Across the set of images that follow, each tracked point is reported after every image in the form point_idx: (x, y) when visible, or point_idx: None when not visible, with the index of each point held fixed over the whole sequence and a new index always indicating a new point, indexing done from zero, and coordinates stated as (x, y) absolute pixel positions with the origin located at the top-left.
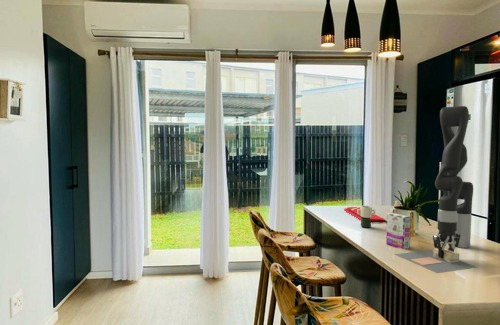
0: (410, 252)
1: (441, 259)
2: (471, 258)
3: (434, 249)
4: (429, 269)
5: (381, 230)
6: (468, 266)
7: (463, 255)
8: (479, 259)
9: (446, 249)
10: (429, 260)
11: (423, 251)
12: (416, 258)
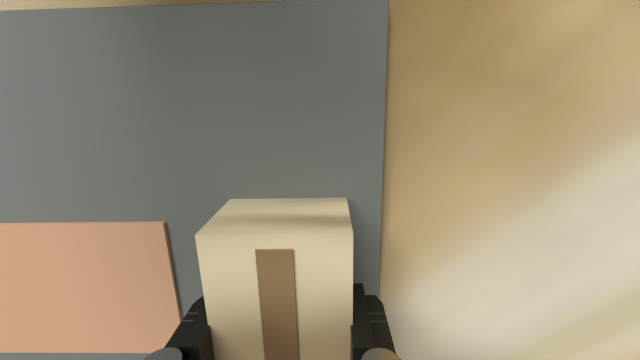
0: (48, 12)
1: None
2: (568, 309)
3: (200, 246)
4: None
5: None
6: None
7: (594, 229)
8: (606, 344)
9: (345, 306)
10: (92, 293)
11: (241, 25)
12: (7, 208)
